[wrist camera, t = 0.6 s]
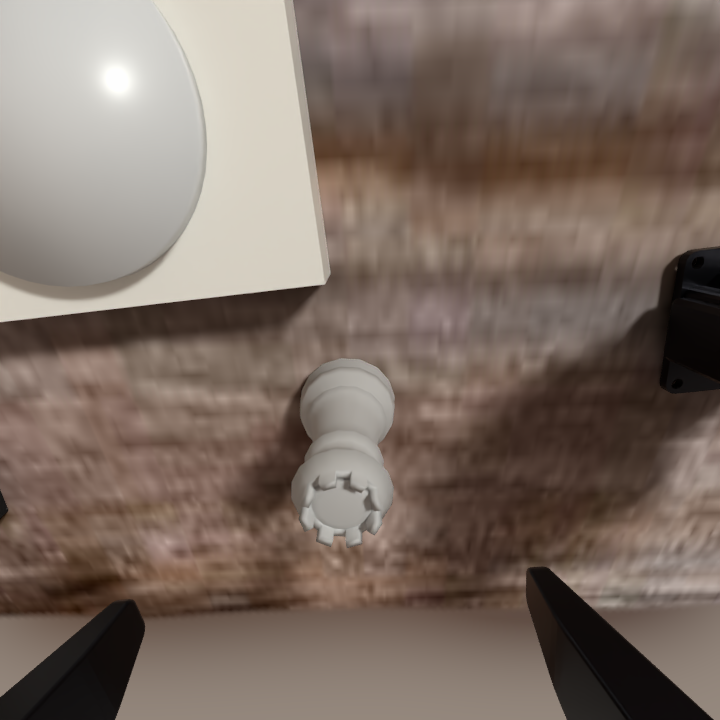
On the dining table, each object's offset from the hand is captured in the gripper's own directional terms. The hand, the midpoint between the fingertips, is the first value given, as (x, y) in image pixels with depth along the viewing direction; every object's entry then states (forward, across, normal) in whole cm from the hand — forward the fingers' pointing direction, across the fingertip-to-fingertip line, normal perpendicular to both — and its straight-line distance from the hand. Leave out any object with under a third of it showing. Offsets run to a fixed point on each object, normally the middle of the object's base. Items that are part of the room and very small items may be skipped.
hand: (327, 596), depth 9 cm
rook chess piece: (+11, 0, 0) cm, 11 cm away
